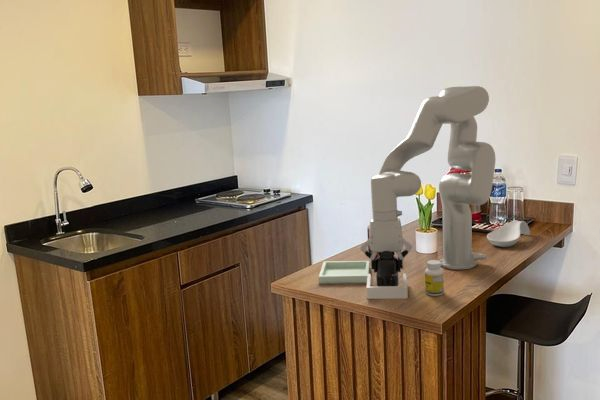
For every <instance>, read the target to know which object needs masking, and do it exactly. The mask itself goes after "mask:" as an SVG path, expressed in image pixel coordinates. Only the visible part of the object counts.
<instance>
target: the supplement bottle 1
mask: <svg viewBox="0 0 600 400" xmlns="http://www.w3.org/2000/svg"><path fill="white" fill-rule="evenodd" d="M395 254H396V252H390V251H383V252H379V257H378V258H376V276H375V277H376V286H399V272H398V257H396V256H395Z"/></svg>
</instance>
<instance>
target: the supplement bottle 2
mask: <svg viewBox="0 0 600 400" xmlns="http://www.w3.org/2000/svg"><path fill="white" fill-rule="evenodd" d="M426 267H427V268H425V270H424V283H425V284H424V285H425V286H424V287H425V288H424V289H425V294H427V295H428V296H431V297H436V296H442V295H444V291H445V289H444V288H445V287H444V284H445V283H444V270H443V269H442V268H441V262H440V261H439V260H437V259H430V260H428V261H426Z"/></svg>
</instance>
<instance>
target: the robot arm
mask: <svg viewBox="0 0 600 400" xmlns="http://www.w3.org/2000/svg"><path fill="white" fill-rule="evenodd" d="M489 102H490V96H489V92H488V91H487V90H486V88H484V87H482V86H480V85H479V86H477V85H472V86H471V85H470V86H467V85H466V86H451V87H446V88H443V89H442V90H441V91H440V93H439V95H437V96H436V95H435V96H430V97H429V96H428V97H427V98H425V99H424V100H423V101H422V103H421V105H420V107H419V109H418V112H417V114H416V116H415V119H414V121H413V123H412V125H411V127H410V129H409V132H408V134H407V136H406V138H404V140H402V141H401V142H400V143H399V144H397V146H395V147H394V148H393V149H392V150H391V151H390V152H389V153H388V155H387V156H386V158H385V159H384V161H383V164H382V166H381V168H380V171H379V173H378V174H377V175H373V177H371V179H370V191H371V210H372V211H371V212H372V214H371V215H372V218H370V221H369V225H370V227H369V239H368V238H367V240H366V241H365V242H364V243H363V244H362V245H360V249H359V250H360V251H361V252H363V254H364V255H365V256H366V257H367V258H368V259H369V261H371V262H370V263H371V265H370V266H371V270H373V273H376V259H377V258H375V256H376V254H377V252H383V251H390V252H394V253H395V254H396V255H397V259H398V273H401V270H402V269H403V268H404V267H403V265H404V264H403V259H404V258H405V257H406V256H408V254H409V252H410V251H412V249H413V247H414V246H413V244H411V243H410V242H409V241H408V240H406V239H405V238H403V228H402V223H401V218H399V217H401V216H403V211H402V210H398V200H397V199H398V198H400V197H401V198H402V197H412V196H414V195H416V194H417V193H419V192H420V189H421V187H422V180H421V178H420V176H419V175H418V174H417V173H414V172H412V171H404V170H402V168H403V167H404V166H405V164H406V163H408V161H409V162H410V160H412V159H413V158H415V157H417V156H420V155H422V154H424V153H426V152H428V151H431V150H432V148H433V147H434V145H435V143H436V141H437V137H438V135H439V133H440V131H441V128H442V126H443V124H445V125H446V124H449V125H450V135H449V141H448V142H449V143H448V152H447V164H448V165H449V166H450V167H451V168H452V169H456V170H463V171H470V172H471V174H466V173H457V172H452V173H451V172H450V173H447V174H445V175H444V176H442V178H441V179H440V181H439V184H438V192H439V198H440V201H441V208H442V210H441V211H442V257H441V258H440V259H439V260H438V261H440V262H441V267H442V268H443V269H449V270H469V269H470V270H471V269H473V268H475V267H476V266H477V263H478V262H477V260H480V261H481V260H483V261H486V260H487V254H486V253H482V252H474V251H473V248H472V247H473V245H472V244H473V243H472V241H473V240H472V239H473V238H472V236H473V235H472V234H473V233H472V230H473V229H472V228H473V227H472V223H473V222H472V220H473V219H472V211H471V207H470V205H473V206H481V205H484V204H486V203H487V202H488V200H490V196H491V194H492V190H493V183H494V182H493V181H494V174H495V167H496V152H495V150H494V147H493V146H492V145H491V144H490V143H487V142H484V141H477V139H478V138H477V137H478V124H477V120H476V118H475V116H478V115H481V113H483V112H484V111H485V110H486V109H487V108H488V105H489ZM369 245H370V250H371V251H372V253H370V252H369V251H368V246H369ZM404 246H405V247H406V248H405V249H403V247H404ZM441 267H440V268H441Z"/></svg>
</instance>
